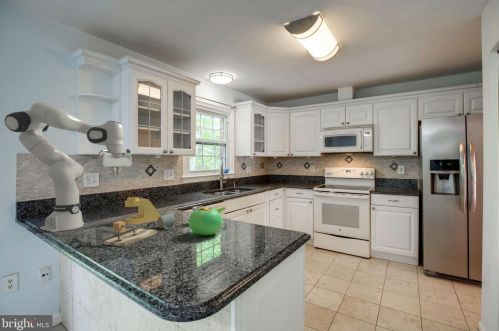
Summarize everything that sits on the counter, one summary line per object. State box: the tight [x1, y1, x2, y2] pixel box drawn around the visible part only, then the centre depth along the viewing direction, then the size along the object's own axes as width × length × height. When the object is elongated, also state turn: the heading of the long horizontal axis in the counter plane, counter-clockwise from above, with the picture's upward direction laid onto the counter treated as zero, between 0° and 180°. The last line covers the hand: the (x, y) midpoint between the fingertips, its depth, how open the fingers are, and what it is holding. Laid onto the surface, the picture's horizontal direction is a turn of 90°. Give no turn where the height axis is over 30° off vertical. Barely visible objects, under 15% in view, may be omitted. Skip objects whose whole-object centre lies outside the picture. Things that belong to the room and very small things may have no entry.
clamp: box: [124, 196, 162, 226], centre depth 157 cm, size 20×9×16 cm, turn 135°
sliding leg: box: [112, 220, 137, 233], centre depth 124 cm, size 12×4×5 cm, turn 73°
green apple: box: [188, 206, 227, 236], centre depth 128 cm, size 18×17×15 cm
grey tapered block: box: [90, 226, 139, 247], centre depth 123 cm, size 12×26×7 cm, turn 163°
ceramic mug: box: [157, 212, 176, 231], centre depth 141 cm, size 11×8×8 cm
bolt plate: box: [103, 228, 158, 248], centre depth 122 cm, size 12×22×2 cm, turn 163°
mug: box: [190, 205, 208, 215], centre depth 149 cm, size 11×8×10 cm
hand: (116, 175), depth 136 cm, fingers closed
